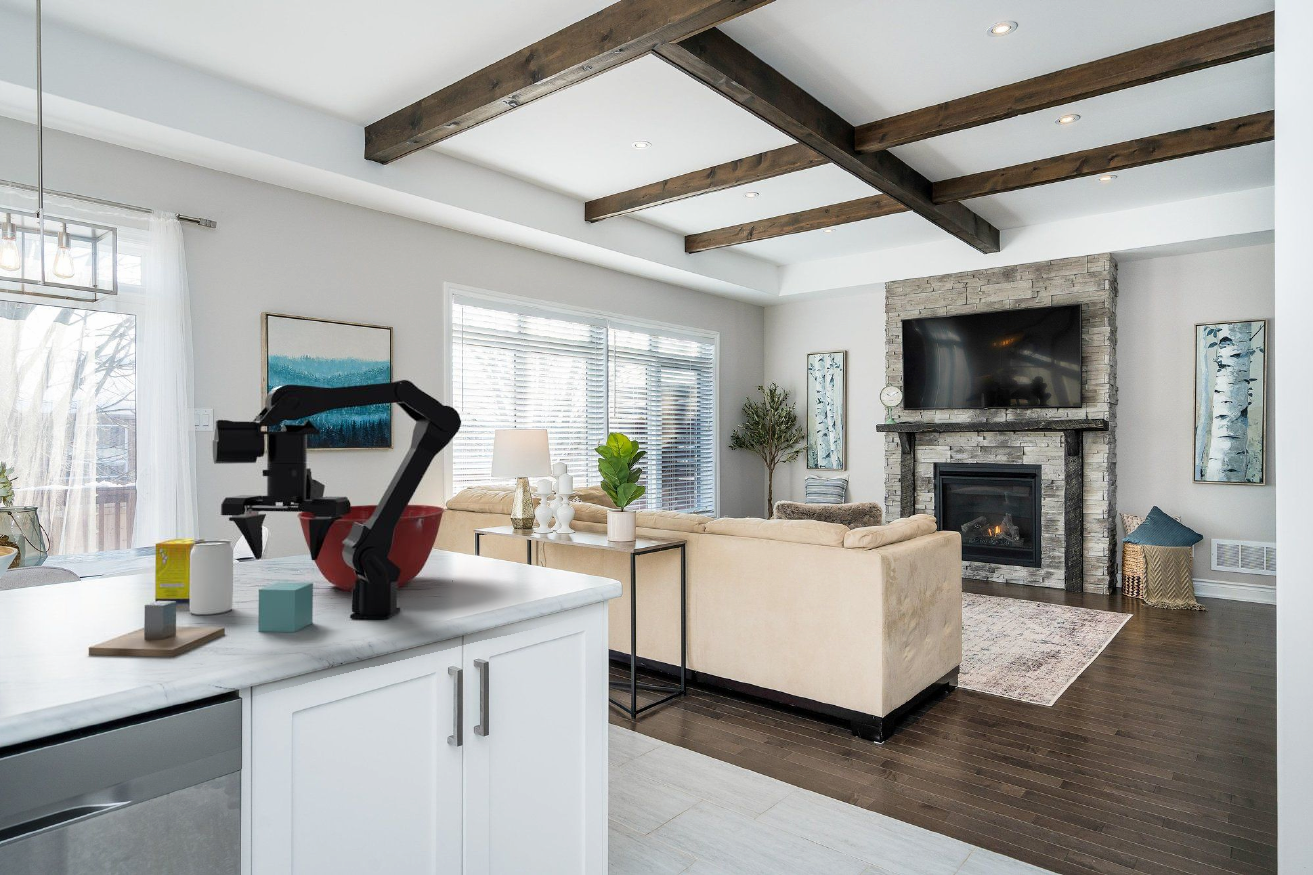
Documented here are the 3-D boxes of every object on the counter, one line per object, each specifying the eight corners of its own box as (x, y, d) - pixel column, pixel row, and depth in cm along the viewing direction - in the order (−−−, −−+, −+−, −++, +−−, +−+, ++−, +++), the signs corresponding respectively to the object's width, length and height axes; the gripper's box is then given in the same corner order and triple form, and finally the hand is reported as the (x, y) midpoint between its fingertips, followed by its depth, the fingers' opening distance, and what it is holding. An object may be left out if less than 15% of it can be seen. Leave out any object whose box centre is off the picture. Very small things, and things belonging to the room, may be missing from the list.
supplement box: (171, 596, 143) (172, 538, 143) (205, 596, 143) (205, 538, 143) (153, 603, 137) (154, 542, 137) (188, 603, 137) (189, 543, 137)
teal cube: (312, 622, 125) (313, 582, 125) (294, 632, 119) (294, 590, 119) (277, 621, 125) (278, 582, 125) (258, 631, 119) (258, 589, 119)
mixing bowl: (290, 604, 138) (291, 519, 138) (302, 576, 164) (302, 504, 164) (450, 594, 148) (451, 515, 148) (437, 569, 174) (437, 502, 174)
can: (213, 616, 128) (213, 545, 128) (180, 614, 129) (181, 544, 129) (241, 608, 134) (242, 540, 134) (209, 605, 135) (210, 539, 135)
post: (175, 634, 113) (176, 601, 113) (163, 639, 110) (163, 605, 110) (157, 634, 113) (158, 600, 113) (144, 639, 110) (144, 605, 110)
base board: (224, 634, 117) (224, 627, 117) (172, 656, 105) (172, 649, 105) (149, 632, 118) (149, 625, 118) (88, 654, 106) (88, 647, 106)
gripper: (365, 461, 130) (364, 552, 130) (259, 460, 130) (258, 550, 131) (334, 464, 118) (334, 564, 119) (218, 463, 119) (218, 561, 120)
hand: (286, 559), depth 122 cm, fingers open, 9 cm apart
